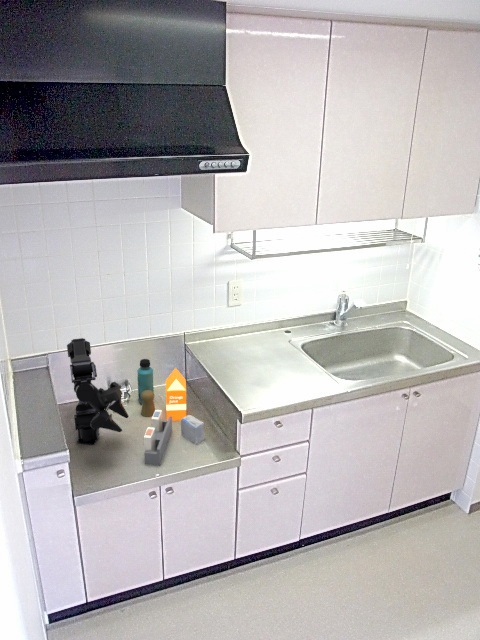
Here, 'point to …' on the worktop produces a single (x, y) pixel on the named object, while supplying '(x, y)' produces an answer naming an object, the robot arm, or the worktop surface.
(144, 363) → the beverage bottle
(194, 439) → the medicine box
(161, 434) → the grey holder stand
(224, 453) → the worktop surface
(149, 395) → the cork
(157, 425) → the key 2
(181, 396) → the orange juice
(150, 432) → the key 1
